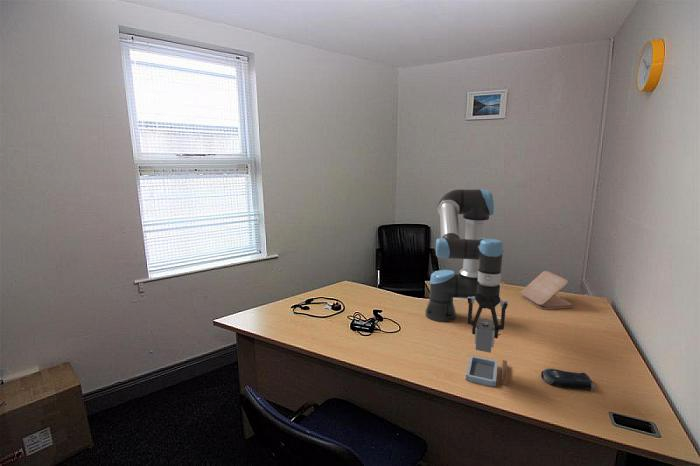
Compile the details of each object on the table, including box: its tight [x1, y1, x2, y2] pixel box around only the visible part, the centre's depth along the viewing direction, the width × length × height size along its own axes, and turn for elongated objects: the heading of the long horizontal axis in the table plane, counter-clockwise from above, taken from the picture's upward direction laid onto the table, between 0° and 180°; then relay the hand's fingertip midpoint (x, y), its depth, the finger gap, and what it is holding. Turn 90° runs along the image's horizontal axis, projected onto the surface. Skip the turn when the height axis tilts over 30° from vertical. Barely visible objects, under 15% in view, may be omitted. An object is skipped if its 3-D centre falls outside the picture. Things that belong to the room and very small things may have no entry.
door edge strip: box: [500, 360, 508, 386], centre depth 133 cm, size 2×14×2 cm, turn 156°
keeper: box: [465, 355, 499, 387], centre depth 134 cm, size 10×15×2 cm, turn 156°
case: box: [520, 270, 575, 310], centre depth 201 cm, size 20×21×16 cm
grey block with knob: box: [475, 317, 494, 354], centre depth 131 cm, size 10×5×9 cm, turn 156°
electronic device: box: [540, 368, 595, 392], centre depth 128 cm, size 9×6×15 cm
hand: (484, 344), depth 132 cm, fingers closed on grey block with knob, 5 cm apart
